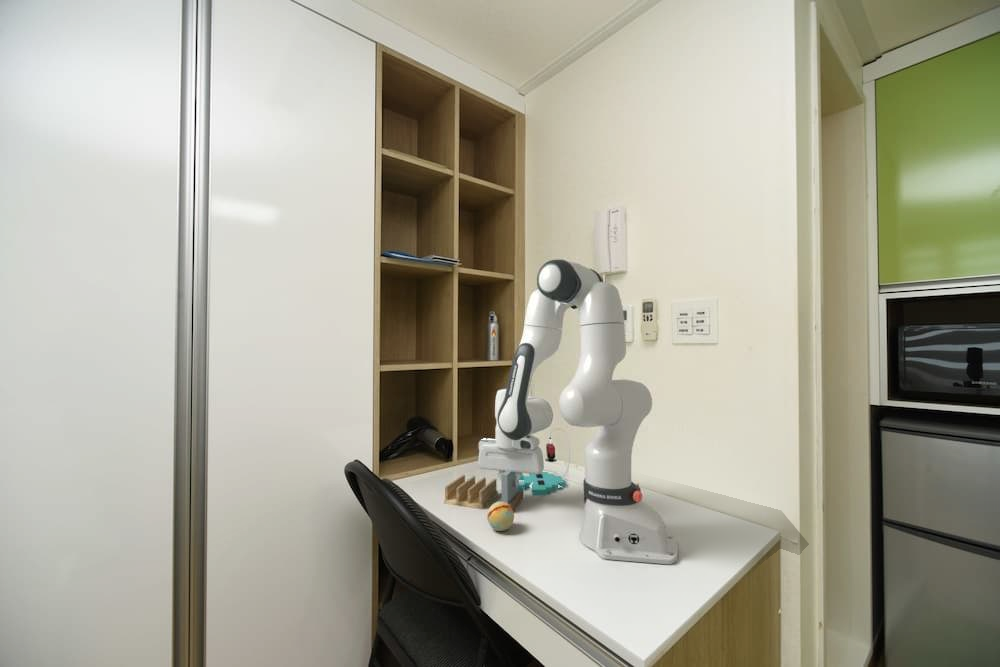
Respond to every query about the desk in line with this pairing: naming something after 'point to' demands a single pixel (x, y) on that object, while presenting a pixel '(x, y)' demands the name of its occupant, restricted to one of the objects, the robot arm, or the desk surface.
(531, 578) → the desk surface
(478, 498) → the rack
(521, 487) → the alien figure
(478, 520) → the desk surface
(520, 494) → the stand
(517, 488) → the plate
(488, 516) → the ball
